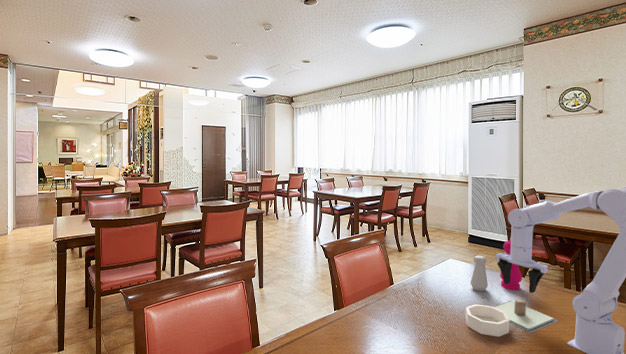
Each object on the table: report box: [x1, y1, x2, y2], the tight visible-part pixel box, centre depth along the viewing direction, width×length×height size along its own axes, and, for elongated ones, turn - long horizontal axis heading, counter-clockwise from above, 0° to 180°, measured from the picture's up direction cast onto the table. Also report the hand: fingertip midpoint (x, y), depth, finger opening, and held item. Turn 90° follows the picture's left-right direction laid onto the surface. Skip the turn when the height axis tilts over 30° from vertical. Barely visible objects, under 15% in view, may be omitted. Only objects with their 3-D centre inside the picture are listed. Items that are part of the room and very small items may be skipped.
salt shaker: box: [470, 255, 489, 292], centre depth 123 cm, size 6×6×13 cm
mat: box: [493, 300, 559, 334], centre depth 104 cm, size 15×15×1 cm
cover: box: [493, 298, 555, 330], centre depth 104 cm, size 13×13×5 cm
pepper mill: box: [499, 237, 523, 291], centre depth 125 cm, size 7×7×20 cm
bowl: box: [464, 304, 510, 337], centre depth 98 cm, size 11×11×4 cm
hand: (519, 287), depth 104 cm, fingers open, 7 cm apart
